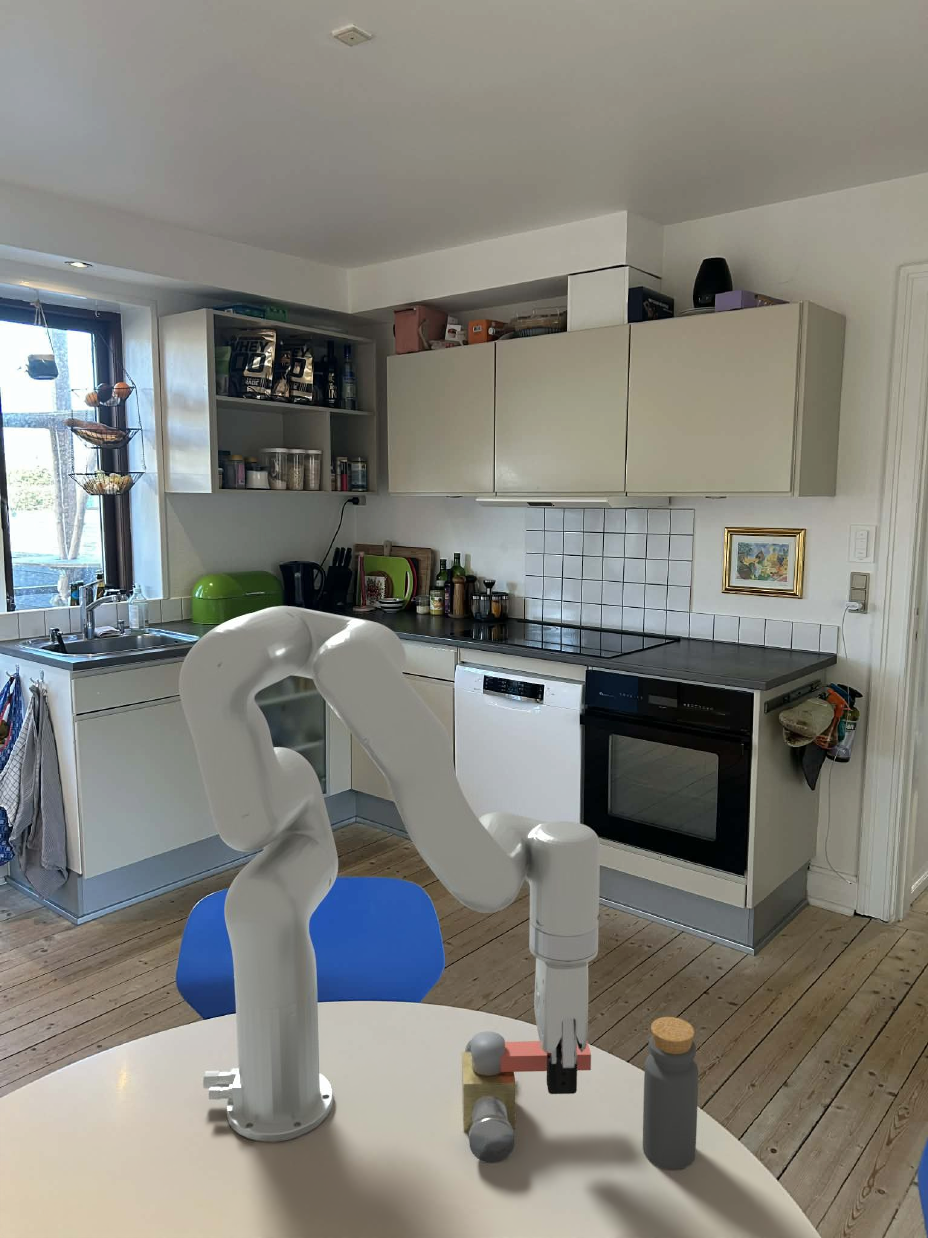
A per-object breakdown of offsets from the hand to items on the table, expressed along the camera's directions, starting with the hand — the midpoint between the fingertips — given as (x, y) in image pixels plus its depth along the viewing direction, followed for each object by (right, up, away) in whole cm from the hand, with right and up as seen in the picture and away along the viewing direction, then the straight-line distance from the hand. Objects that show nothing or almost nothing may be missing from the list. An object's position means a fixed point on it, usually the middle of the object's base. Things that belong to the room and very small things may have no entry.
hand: (561, 1089), depth 103 cm
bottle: (+12, -7, 0) cm, 14 cm away
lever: (-3, 0, +6) cm, 6 cm away
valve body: (-8, -6, +6) cm, 12 cm away
